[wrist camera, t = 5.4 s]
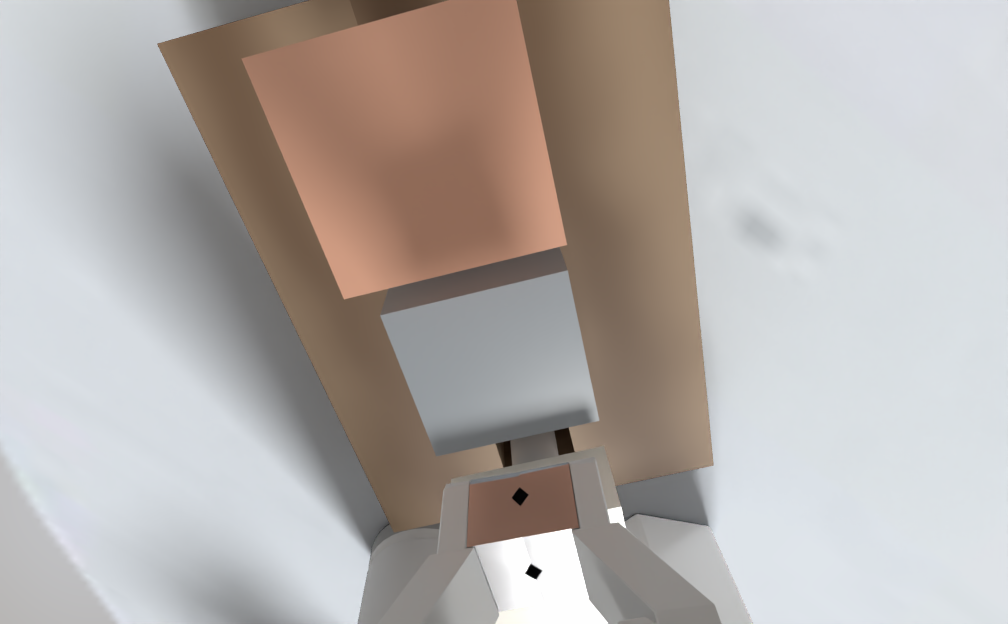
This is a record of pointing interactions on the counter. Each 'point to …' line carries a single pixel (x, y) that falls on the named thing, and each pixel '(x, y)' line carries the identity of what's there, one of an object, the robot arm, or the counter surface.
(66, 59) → the counter surface
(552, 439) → the cream block
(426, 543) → the travel mug
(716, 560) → the jar
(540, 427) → the key slate
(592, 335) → the keypad base
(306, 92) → the key terracotta
